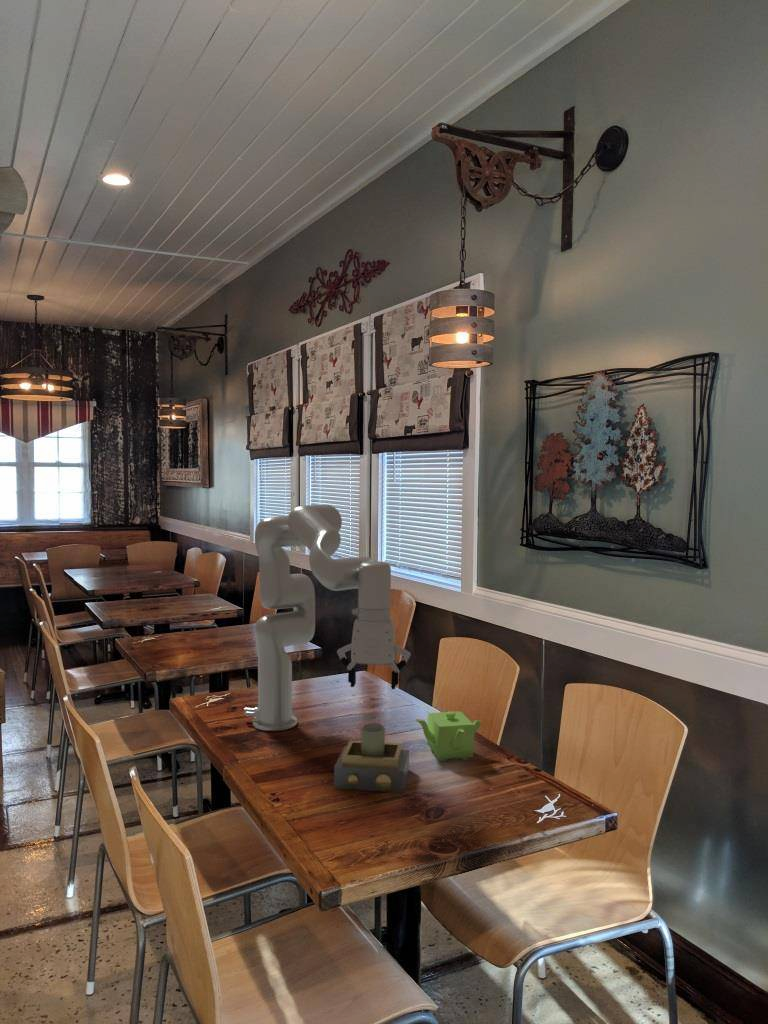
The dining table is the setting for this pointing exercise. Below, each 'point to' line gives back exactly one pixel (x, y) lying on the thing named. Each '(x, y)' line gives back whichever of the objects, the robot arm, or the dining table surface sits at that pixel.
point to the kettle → (450, 734)
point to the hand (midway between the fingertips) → (373, 686)
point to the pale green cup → (372, 740)
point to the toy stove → (372, 769)
